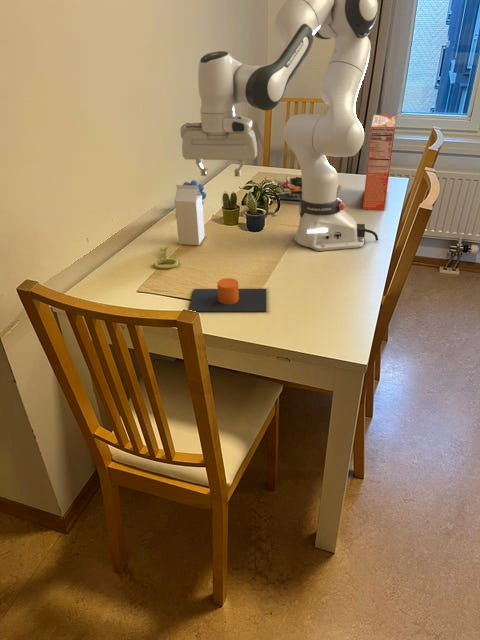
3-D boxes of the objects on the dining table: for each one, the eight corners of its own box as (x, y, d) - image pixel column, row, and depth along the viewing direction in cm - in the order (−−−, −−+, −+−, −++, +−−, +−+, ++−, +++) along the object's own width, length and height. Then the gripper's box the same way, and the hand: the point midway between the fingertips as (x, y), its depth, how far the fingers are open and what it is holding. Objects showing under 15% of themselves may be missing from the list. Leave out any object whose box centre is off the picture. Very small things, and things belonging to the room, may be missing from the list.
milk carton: (199, 245, 166) (194, 189, 156) (178, 244, 167) (173, 188, 157) (204, 237, 171) (201, 182, 161) (184, 236, 173) (179, 181, 163)
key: (168, 251, 162) (168, 245, 161) (180, 266, 152) (179, 260, 151) (147, 256, 160) (146, 249, 158) (157, 271, 150) (156, 265, 149)
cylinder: (239, 294, 136) (238, 278, 133) (238, 304, 131) (237, 287, 128) (219, 294, 136) (218, 278, 133) (217, 304, 131) (216, 287, 129)
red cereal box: (365, 190, 210) (373, 114, 194) (385, 191, 208) (395, 115, 193) (362, 208, 191) (371, 126, 176) (384, 210, 190) (395, 127, 174)
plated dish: (244, 200, 204) (244, 182, 200) (262, 181, 227) (262, 165, 223) (330, 207, 195) (332, 188, 191) (339, 187, 218) (341, 170, 214)
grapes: (210, 208, 197) (209, 177, 190) (204, 214, 191) (202, 183, 185) (183, 206, 200) (180, 176, 194) (176, 211, 194) (173, 181, 188)
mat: (266, 289, 138) (266, 288, 138) (266, 312, 128) (266, 310, 128) (194, 290, 139) (194, 288, 139) (188, 312, 129) (188, 310, 129)
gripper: (176, 125, 129) (181, 178, 137) (254, 125, 126) (255, 179, 133) (182, 120, 135) (187, 171, 142) (257, 120, 131) (258, 172, 139)
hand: (220, 175), depth 138 cm, fingers open, 8 cm apart
